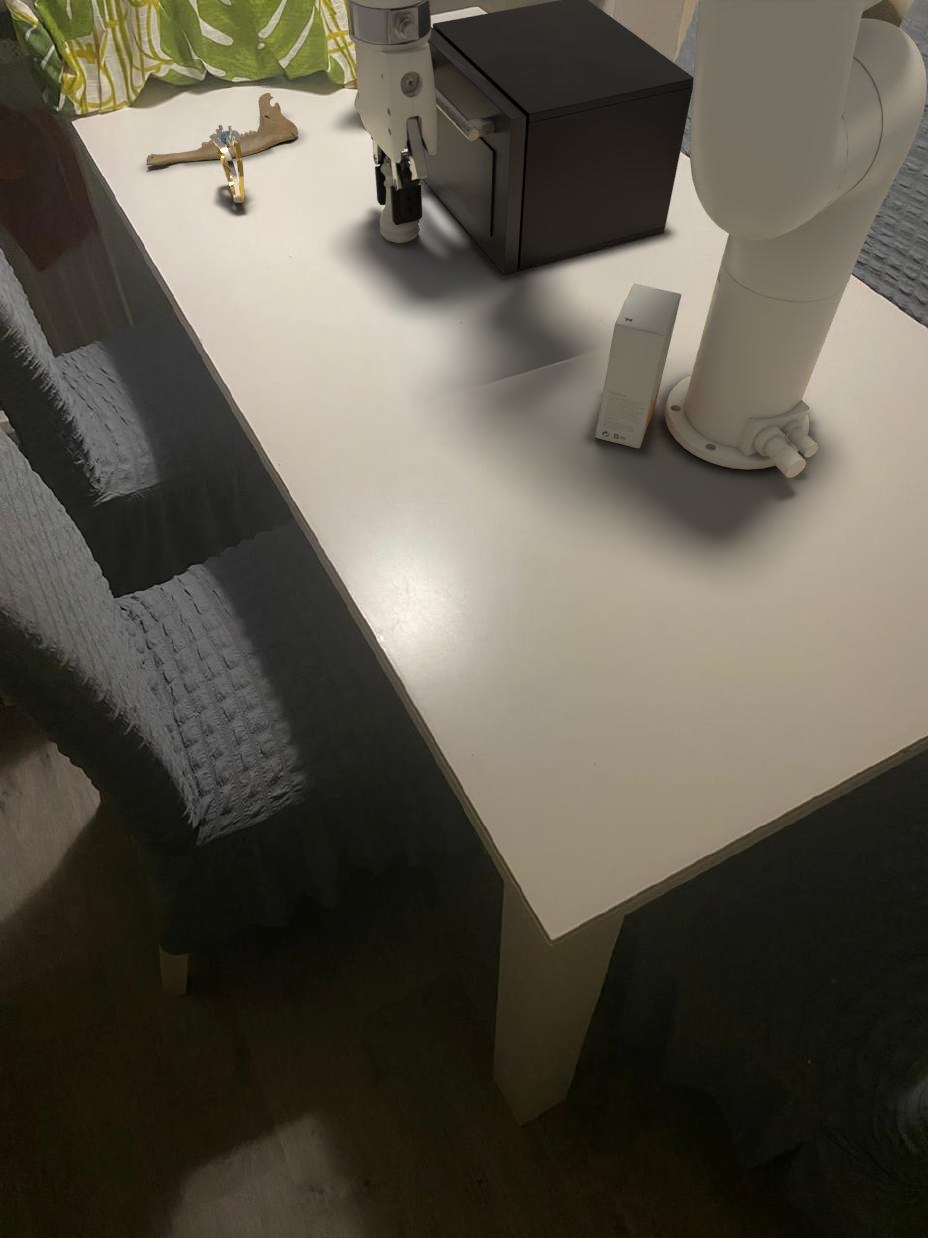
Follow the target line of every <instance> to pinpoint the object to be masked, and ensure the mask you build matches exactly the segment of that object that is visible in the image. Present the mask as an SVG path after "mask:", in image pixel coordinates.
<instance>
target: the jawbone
mask: <svg viewBox="0 0 928 1238" xmlns="http://www.w3.org/2000/svg"><path fill="white" fill-rule="evenodd" d="M273 99H274V96H272V94H271V92H265V93H263V94H261V95H260V96H259V98H258V109H259V125H258V128H257V131H256V130H249V132H248V131H245V132H244V133H240V140H239V143H240V148H241V154H242V157H247V156H251V155H254V154H257V153H260V152H263V151H265V150H267V149H269V148H270V147H273V146H274V145H277V144H279V143H283V142H287V141H290V140H294V139H295V138H297V136H298V135H299V130H298V127H297V125H296V124H295V123H294V122H293V121H291V120H290V119H288V118H286V117H285V115H283V113H282V110H281V106H280V104H279V102H275V103H274V105H273V106H272V105H271V100H273ZM233 141H234V138H233ZM228 152H229V153H230V155H231V158H232V159H233V158H236V156H235V152H234V150H233V146H230V149H228ZM222 153H223V152H222ZM223 156H224V154H223ZM224 159H225V157H224ZM208 160H220V157H219V155H218V152H217V149H216V147H215V144H214V142H213V141H212V140H210V139H209V141H208V142H207V141H202V142H201V147H199V148H198V149H194V150H188V151H181V152H174V153H173V152H172V153H162V154H161V153H159V154H157V153H151V154H149V155H147V157H146V164H145V166H159V165H161V166H162V165H163V166H164V165H165V166H169V165H172V164H175V163H178V162H197V161H198V162H199V161H208Z"/></svg>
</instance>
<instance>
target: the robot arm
mask: <svg viewBox="0 0 928 1238" xmlns="http://www.w3.org/2000/svg"><path fill="white" fill-rule="evenodd" d="M882 1H883V0H698V7H697V9H698V10H697V22H696V23H697V24H696V38H695V51H694V67H693V77H694V78H693V90H692V95H691V106H690V107H691V108H690V109H691V111H690V124H689V164H690V173H691V178H692V182H693V186H694V191H695V193H696V196H697V198H698V200H699V202H700V204H701V207H702V208H703V210H704V212H705V213H706V215H707V216H708V218H709V219H710V220H711V221H712V222H713V224H715V225H716V226H717V227H718V228H719V229H721V230H722V231H724V232H725V233H727V234H728V235H727V238H726V244H725V246H724V250H723V254H722V256H721V260H720V265H719V268H718V273H717V277H716V281H715V284H714V288H713V291H712V295H711V299H710V303H709V307H708V310H707V315H706V319H705V322H704V326H703V329H702V334H701V337H700V341H699V345H698V346H699V347H698V349H697V353H696V357H695V362H694V364H693V369H692V373H691V374H689V375H687V376H686V377H684V378H682V379H681V380H680V381H679V382H677V383H676V384H675V385H674V386H673V388H672V389H671V391H670V392H669V394H668V397H667V400H666V404H665V410H664V418H665V423H666V426H667V429H668V431H669V432H670V434H671V435H672V437H673V438H674V439H675V441H676V442H677V443H679V445H680V446H682V447H683V449H685V450H686V451H688V452H690V453H691V454H692V455H694V456H695V457H698V458H700V459H701V460H704V461H705V462H708V463H711V464H714V465H716V466H719V467H724V468H730V469H736V470H760V469H761V470H762V469H767V468H771V467H776V468H777V469H778V470H779V471H780V472H781V473H782V474H783V475H784V477H786V478H788V479H792V478H794V477H796V476H797V475H799V474H800V473H802V472H803V470H804V469H805V468H806V465H807V461H806V459H804V458H803V456H804V457H805V458H810V457H812V456H814V455H815V454H816V453H817V452H818V450H819V447H820V446H819V445H818V443H816V441H814V439H813V438H812V437H811V436H809V435H808V434H809V430H810V418H809V414H808V413H809V410H810V406H809V405H807V403H805V401H803V398H804V395H805V392H806V390H807V387H808V385H809V382H810V379H811V377H812V374H813V372H814V370H815V367H816V365H817V363H818V359H819V357H820V354H821V351H822V349H823V347H824V344H825V341H826V339H827V337H828V334H829V331H830V329H831V326H832V324H833V321H834V319H835V316H836V313H837V311H838V308H839V306H840V304H841V301H842V298H843V296H844V293H845V291H846V288H847V286H848V284H849V282H850V279H851V277H852V274H853V271H854V270H855V267H856V264H857V261H858V259H859V256H860V254H861V251H862V249H863V246H864V244H865V242H866V240H867V238H868V235H869V233H870V230H871V228H872V226H873V223H874V222H875V219H876V217H877V215H878V213H879V211H880V209H881V207H882V204H883V203H884V201H885V199H886V197H887V195H888V193H889V192H890V189H891V188H892V186H893V184H894V181H895V180H896V178H897V176H898V174H899V172H900V170H901V168H902V166H903V164H904V162H905V161H906V158H907V157H908V154H909V152H910V150H911V148H912V146H913V144H914V141H915V139H916V136H917V134H918V131H919V129H920V126H921V122H922V120H923V116H924V112H925V108H926V107H925V106H926V101H927V93H928V92H927V91H928V83H927V72H926V66H925V61H924V59H923V57H922V54H921V51H920V49H919V48H918V46H917V44H916V43H915V42H914V40H913V39H912V37H910V35H909V34H908V33H906V32H905V31H904V30H903V29H901V28H900V27H899V26H897V25H895V24H893V23H892V22H888V21H885V20H882V19H877V18H865V17H863V13H864V12H865V11H868V10H869V9H870V8H872V7H874V6H876V5H877V4H879V3H880V2H882ZM431 2H432V1H431V0H345V5H346V13H347V17H346V18H347V26H348V27H347V28H348V36H349V37H348V38H349V40H351V42H352V43H353V44H355V71H356V88H357V92H358V102H359V110H360V115H359V116H360V120H361V123H362V126H363V127H364V129H365V130H366V132H367V133H368V135H369V136H370V138H371V140H372V158H373V162H374V164H375V166H374V174H375V175H374V177H375V188H376V200H377V201H376V202H377V203H378V204H379V205H380V206H385V204H386V187H385V186H384V181H385V180H386V176H385V175H384V174H383V173H382V172H381V167H382V165H383V164H384V159H386V158H385V156H388V157H389V158H390V159H391V165H392V174H393V183H394V185H393V186H390V190H391V206H392V221H393V222H394V224H395V225H400V224H404V223H408V222H412V221H416V220H419V221H420V220H421V219H422V218H423V197H422V194H423V193H422V185H423V182H424V180H423V178H424V177H427V176H428V168H427V163H426V158H425V154H424V149H425V150H426V151H427V152H428V153H429V155H436V154H437V152H438V124H437V107H436V93H435V83H434V73H433V66H432V59H431V53H430V48H429V44H428V42H427V41H428V40H429V38H430V37H431V27H432V10H431V9H432V8H431V7H432V5H431ZM862 17H863V18H862ZM423 148H424V149H423ZM405 150H407V151H405ZM405 162H409V163H410V167H408V168H404V169H403V171H402V172H401V166H400V163H405ZM799 452H800V453H801V454H802V455H803V456H801V454H800V453H799Z"/></svg>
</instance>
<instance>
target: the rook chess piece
mask: <svg viewBox="0 0 928 1238" xmlns="http://www.w3.org/2000/svg"><path fill="white" fill-rule="evenodd" d="M385 158H386V159H384V164H383V165H382V167H381V172H382V173H383V174H384V175H385V176H386V180H385V181H384V186H385V187H386V204H385V205H384V208H383V209H382V213H381V215H380V216H379V225H380V226H379V232H380V234H381V235H382V236H383V237H384V238H385V240H387V241H389V242H393V243H397V244H400V243H401V244H402V243H408V242H411V241H412V240H414V239H416V237H417V236H418V234H420V231H421V225H420V220H416V221H412V222H408V223H404V224H400V225H395V224H394V222H393V221H392V206H391V190H390V186H393V185H394V183H393V174H392V165H391V159H390V158H389V157H388V156H385ZM400 166H401V172H402V171H403V169H404V168H408V167H410V161H409V162H405V163H400Z"/></svg>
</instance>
